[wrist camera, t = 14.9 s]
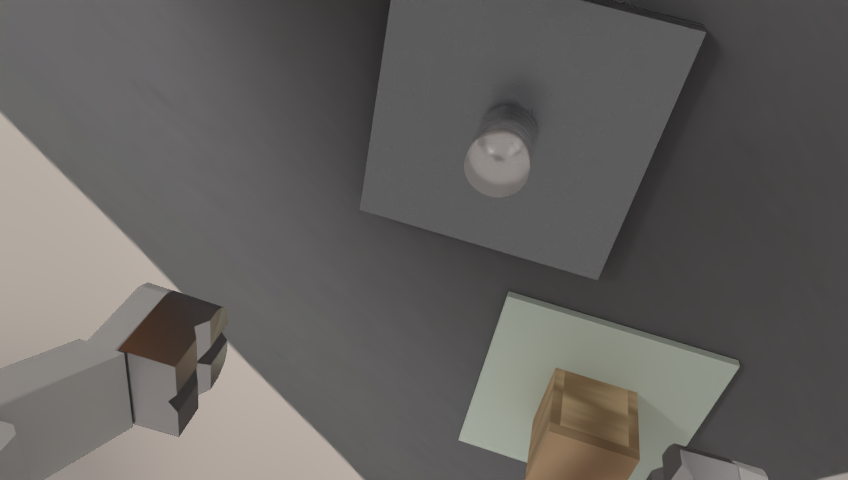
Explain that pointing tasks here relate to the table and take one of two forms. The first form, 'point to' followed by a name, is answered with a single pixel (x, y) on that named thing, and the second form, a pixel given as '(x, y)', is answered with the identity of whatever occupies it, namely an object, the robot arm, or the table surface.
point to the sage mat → (597, 359)
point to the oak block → (584, 431)
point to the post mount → (523, 121)
